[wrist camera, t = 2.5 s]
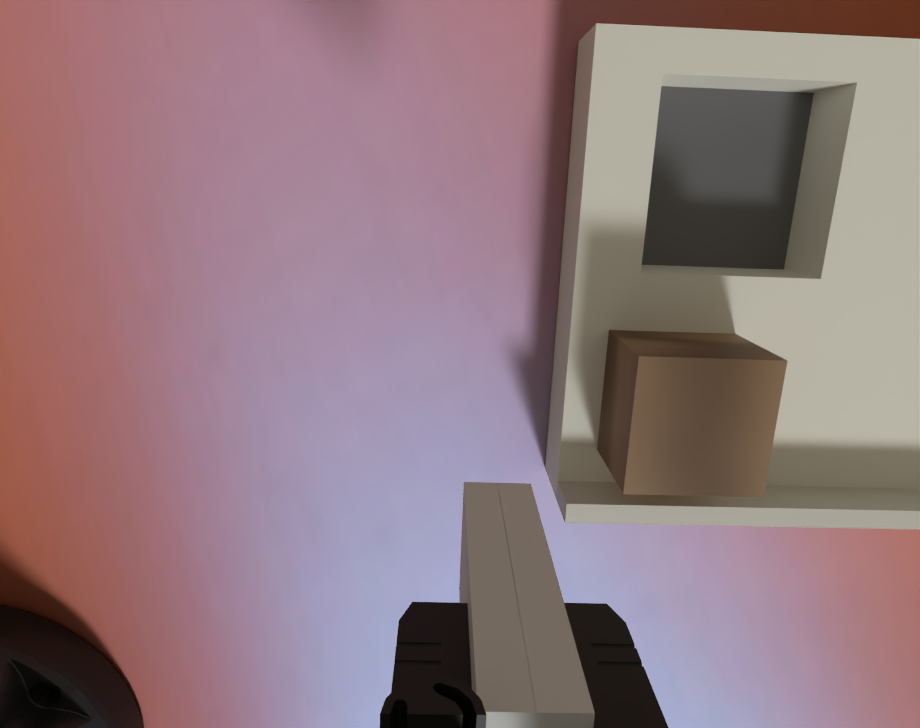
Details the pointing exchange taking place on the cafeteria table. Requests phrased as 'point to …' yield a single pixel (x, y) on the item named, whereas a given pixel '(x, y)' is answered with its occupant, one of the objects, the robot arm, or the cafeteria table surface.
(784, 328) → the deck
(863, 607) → the cafeteria table surface
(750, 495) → the block
